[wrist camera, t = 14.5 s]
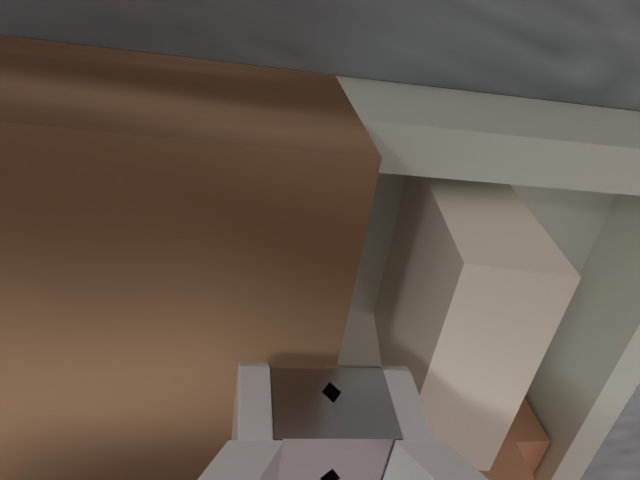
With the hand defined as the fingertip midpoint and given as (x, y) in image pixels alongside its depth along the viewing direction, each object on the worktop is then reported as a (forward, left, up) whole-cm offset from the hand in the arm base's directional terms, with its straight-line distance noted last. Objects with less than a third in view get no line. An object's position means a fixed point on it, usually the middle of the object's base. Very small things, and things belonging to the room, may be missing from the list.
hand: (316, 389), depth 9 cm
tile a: (0, +2, -3) cm, 3 cm away
